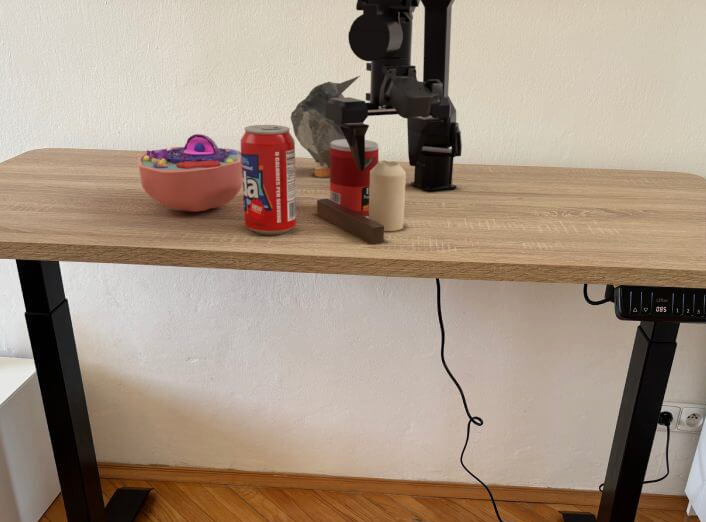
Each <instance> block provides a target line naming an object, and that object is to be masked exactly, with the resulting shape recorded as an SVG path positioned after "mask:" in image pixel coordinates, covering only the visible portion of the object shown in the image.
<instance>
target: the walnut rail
mask: <svg viewBox="0 0 706 522" xmlns="http://www.w3.org/2000/svg"><path fill="white" fill-rule="evenodd" d="M316 215H317V216H319V217H320V218H323V219H324V220H326V221H328V222H330V223H332V224H334V225H335V226H337V227H340V228H342V229H343V230H345V231H347V232H349V233H350V234H353V235H355V236H357V237H359V238H361V239H363V240H365V241H366V242H368V243H370V244H372V245H374V244H381V243H384V242H385V231H384V225H382V224H380V223H377V222H375V221H373V220H371V219H369V217H367V216H366V215H364V216H363V215H361V214H359V213H357V212H354V211H352V210H350V209H348V208H346V207H344V206H342V205H340V204H338V203H336V202H334V201H332V200H330V198H321V199H317V200H316Z"/></svg>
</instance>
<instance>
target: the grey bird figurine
mask: <svg viewBox="0 0 706 522" xmlns="http://www.w3.org/2000/svg"><path fill="white" fill-rule="evenodd" d="M360 77H361V75H358V76H356V77H353V78H351V79H347V80H345V81H342V82H332V81H327V82H323V83H321V84H318V85H316V86H314V87H313V88H312V89H311V90H310V92H309V93H308V95H307V96H306V97H305V98H304V99H303V100H301V101H300V102H299V103H298V104H297V105H296V106H295V109H294V110H293V111H291V114H290V121H291V124H292V129H293V133H294V136H295V138H296V140H297V141H298V142H299V144H300V146H301V147H302V148H304V149H305V150H306V151H307V152H308V153H309V155H310V156H311V157H312V158H313V160H314V176H315V177H317V178H330V145H331V142H332V141H335V140H341V139H346V138H345V136H344V134H343V132H342V130H341V128H340V127H339V126H338V125H335V124H333V120H330V119H327V118H325V106H326V104H327V102H328V100H329V99H330V98H345V96H344V95H343V93H344V92H345V91H346V90H347V89H348V88H349V87H351V86H352V85H353V83H355V82H356V81H357V80H358V79H359V78H360Z"/></svg>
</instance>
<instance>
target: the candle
mask: <svg viewBox="0 0 706 522" xmlns="http://www.w3.org/2000/svg"><path fill="white" fill-rule="evenodd" d="M406 174H407V172H406V170H405V169H404V168H403V167H402V166H401V164H400V162H398V161H394V160H393V161H388V160H381V161H380V162H378V164H377V165H376V166H375V167H374V168H373V169H372V170H371V171H370V191H369V215H368V218H369V219H371V220H373V221H375V222H377V223H380V224H382V225H384V232H395V231H399V230H402V229H403V228H404V223H405V220H404V219H405V203H406V202H405V199H406V180H407V179H406V177H407V175H406Z"/></svg>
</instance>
